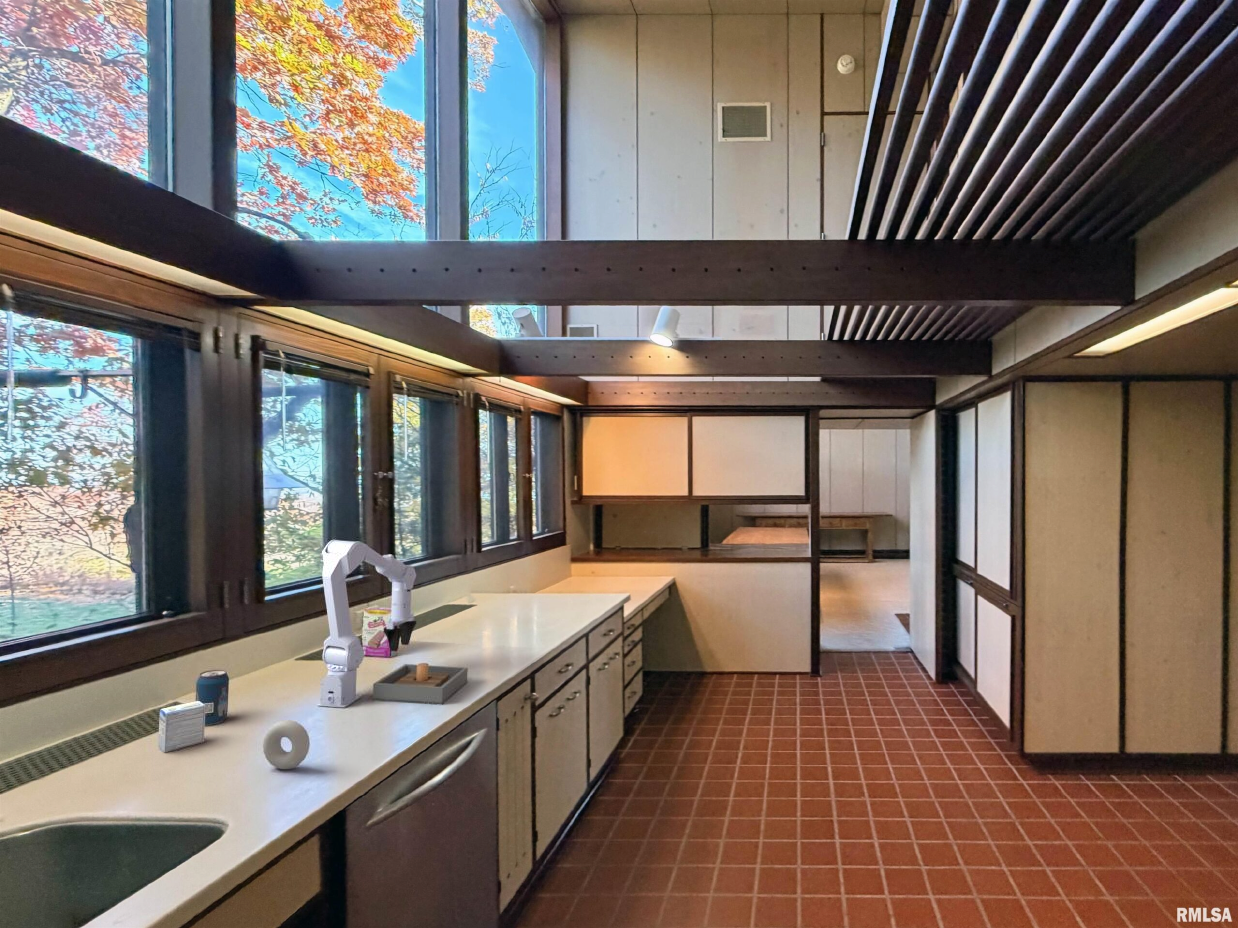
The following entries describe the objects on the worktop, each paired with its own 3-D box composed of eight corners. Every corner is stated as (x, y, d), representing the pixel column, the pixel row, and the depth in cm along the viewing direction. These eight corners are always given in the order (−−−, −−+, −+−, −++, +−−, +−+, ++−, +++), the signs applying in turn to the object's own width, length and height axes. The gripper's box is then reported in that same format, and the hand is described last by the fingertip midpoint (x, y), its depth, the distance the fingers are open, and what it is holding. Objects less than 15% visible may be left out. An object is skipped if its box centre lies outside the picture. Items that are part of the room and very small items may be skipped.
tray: (441, 704, 176) (442, 688, 176) (372, 700, 178) (373, 683, 178) (467, 682, 196) (467, 667, 196) (404, 678, 198) (405, 664, 198)
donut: (312, 767, 136) (314, 719, 137) (302, 774, 133) (304, 725, 133) (269, 763, 138) (271, 715, 138) (257, 770, 134) (260, 721, 134)
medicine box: (197, 737, 150) (199, 700, 150) (204, 742, 147) (206, 704, 147) (157, 747, 144) (159, 708, 144) (163, 753, 141) (165, 713, 141)
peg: (424, 691, 185) (425, 666, 185) (414, 690, 186) (414, 665, 186) (429, 687, 188) (430, 663, 188) (419, 686, 189) (420, 662, 189)
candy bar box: (360, 656, 221) (362, 608, 222) (367, 653, 226) (369, 606, 227) (391, 658, 220) (393, 610, 221) (397, 654, 225) (399, 607, 226)
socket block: (433, 696, 180) (434, 686, 180) (393, 694, 182) (393, 683, 182) (449, 683, 192) (450, 673, 192) (411, 681, 194) (411, 671, 194)
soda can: (198, 717, 162) (200, 669, 162) (229, 715, 164) (232, 667, 165) (190, 727, 155) (193, 677, 156) (223, 724, 158) (226, 675, 158)
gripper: (403, 608, 191) (401, 654, 191) (423, 599, 206) (421, 642, 205) (380, 607, 192) (378, 653, 192) (402, 598, 207) (400, 641, 206)
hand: (399, 647), depth 199 cm, fingers open, 7 cm apart
